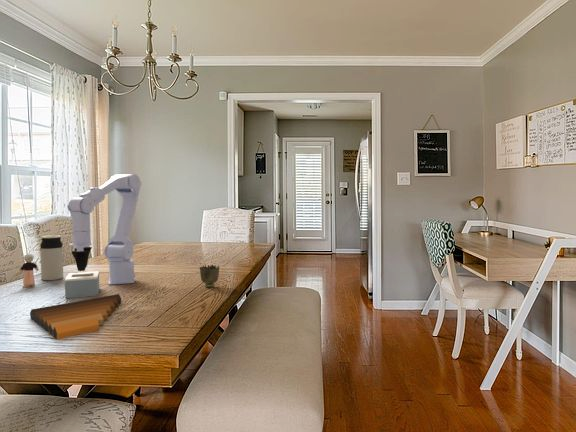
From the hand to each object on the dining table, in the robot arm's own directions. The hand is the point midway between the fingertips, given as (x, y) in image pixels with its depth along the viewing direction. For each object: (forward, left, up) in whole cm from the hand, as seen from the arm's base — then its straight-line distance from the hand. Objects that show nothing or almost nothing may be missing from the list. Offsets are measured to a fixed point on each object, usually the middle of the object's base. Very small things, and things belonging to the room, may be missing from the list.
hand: (82, 268), depth 146 cm
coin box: (0, 0, -9) cm, 9 cm away
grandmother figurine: (+20, -20, -9) cm, 30 cm away
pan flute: (-5, +33, -10) cm, 35 cm away
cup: (-44, +8, -9) cm, 46 cm away
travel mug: (+14, -32, -9) cm, 36 cm away
